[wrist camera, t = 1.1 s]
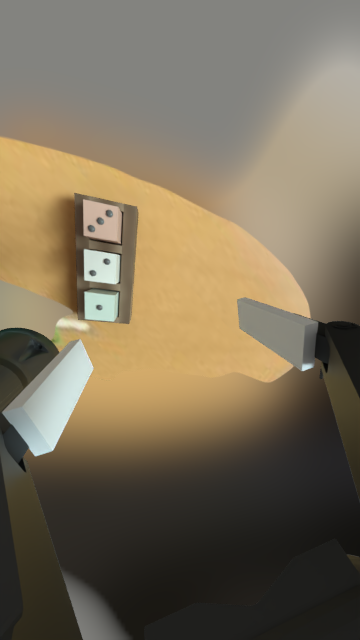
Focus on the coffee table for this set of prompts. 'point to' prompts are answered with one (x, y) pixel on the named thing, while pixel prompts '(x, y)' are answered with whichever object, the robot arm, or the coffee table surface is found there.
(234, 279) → the coffee table surface
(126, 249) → the board
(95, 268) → the tile two
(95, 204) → the tile three
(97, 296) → the tile one
